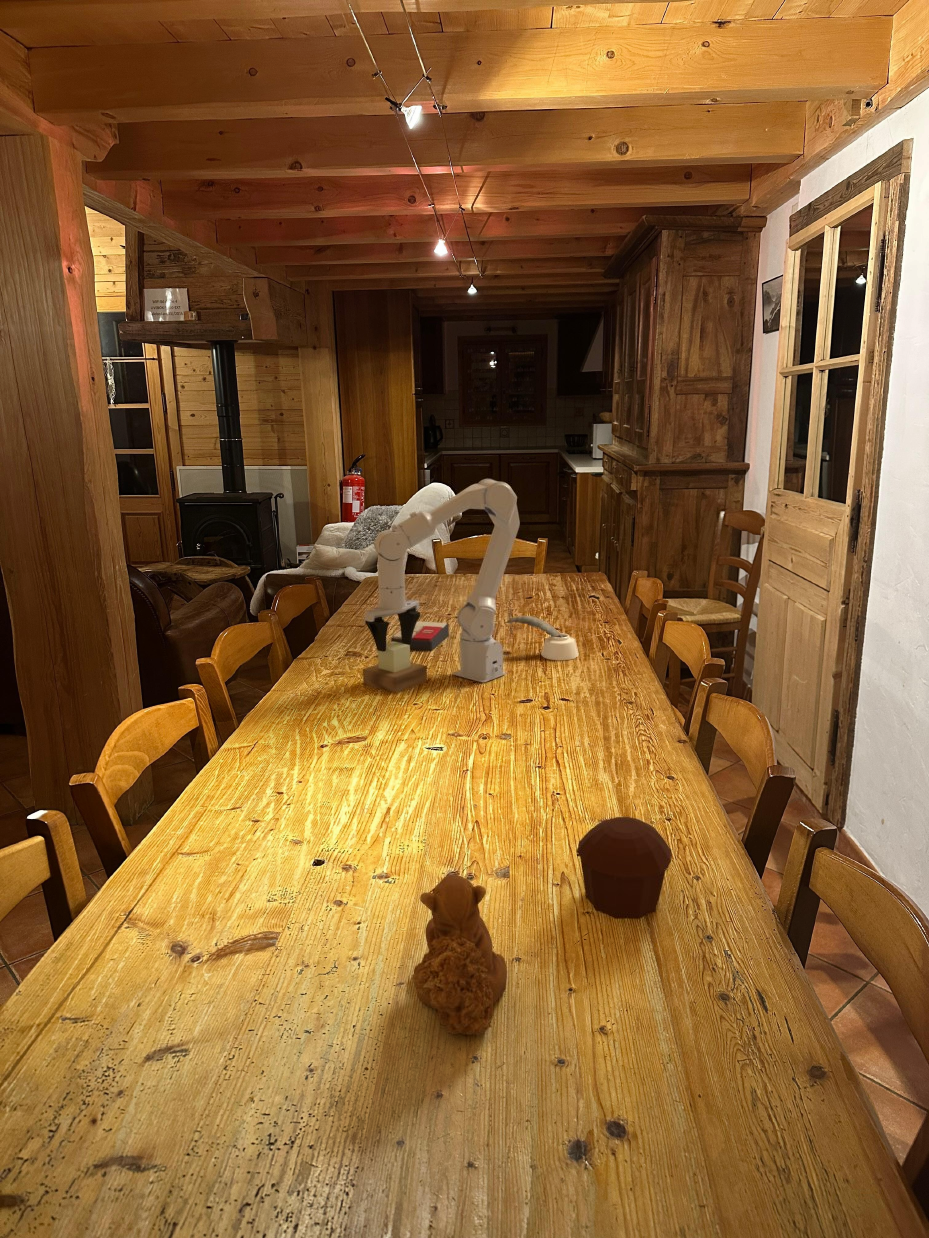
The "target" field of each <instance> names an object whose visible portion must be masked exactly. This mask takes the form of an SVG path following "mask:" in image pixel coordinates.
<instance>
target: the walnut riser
mask: <svg viewBox="0 0 929 1238" xmlns="http://www.w3.org/2000/svg"><path fill="white" fill-rule="evenodd" d="M427 668H428V667H427V665H423V664H419V663H415V662H411V661H410V667H409V668H406V669H403V670H400V671H397V672H391V671H387V670H384V669H380V668H378V663H377V664H374V665H371V666H369V667H366V668H365V667H364V668H363V669H362V679H363V680H362V681H363V685H364V686H367V687H370V688H375V689H378V690H382V691H386V692H391V693H394V694H399V693H402V692H404V691H406V690H409V689H411V688H415V687H416V686H419V685H422V684H424V683H427V682H428V669H427Z"/></svg>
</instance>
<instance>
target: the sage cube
mask: <svg viewBox="0 0 929 1238" xmlns="http://www.w3.org/2000/svg"><path fill="white" fill-rule="evenodd" d="M377 662H378V663H377V664H378V668H380V669H384V670H387V671H391V672H397V671H400V670H403V669H406V668H409V667H410V662H411V650H410V645H407V644H402V643H398V642H388V643H387V642H386V651H384V652H382V651H378V650H377Z"/></svg>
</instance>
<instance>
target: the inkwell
mask: <svg viewBox="0 0 929 1238" xmlns="http://www.w3.org/2000/svg"><path fill="white" fill-rule="evenodd" d="M510 623H521V624H523V625H527V626H529V627H534V628H538V629H540V630H541V631H543V632H545V634H547V635H549V636H548V637H546V638H545V640H544V643H543V646H542V649H541V654H540V656H541V657H543V658H544V659H546V660H551V661H572V660H575V659H577V658H578V657H579V654H580V653H579V650H578V646H577V642H576V639H575V638H573V637H572V636H570V635H569V633H568V634H567V633H564V632H563V633H561V632H559V631H558V630H557V629H556V628H555V627H554V626H553V625H551V624H549V623H548V622H546V621H544V620H543V619H540V618H537V617H535V616H531V615H520V616H515V617H511V618H510V619H508V620H506V621H505V624H510ZM576 657H577V658H576Z"/></svg>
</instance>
